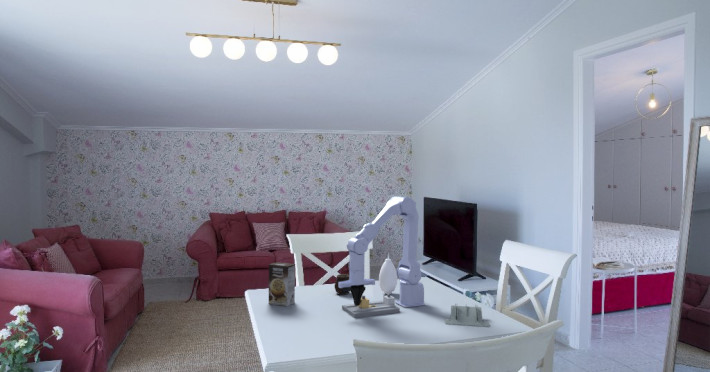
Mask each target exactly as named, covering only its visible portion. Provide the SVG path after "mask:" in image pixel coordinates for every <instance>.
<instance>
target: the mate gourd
mask: <svg viewBox="0 0 710 372" xmlns="http://www.w3.org/2000/svg"><path fill="white" fill-rule="evenodd" d="M348 280H350V274H349V272H346V274H344V273H342V274H341V273H340V274H337V275H336V281H335V283H334V289H335V292H336V294H338V295H348V294H349V293H351V292H350V289H349V287H343V288H339V287H338V282H343V281H348Z"/></svg>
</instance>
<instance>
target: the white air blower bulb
mask: <svg viewBox="0 0 710 372" xmlns="http://www.w3.org/2000/svg"><path fill="white" fill-rule="evenodd" d="M396 271H397V268H396V267H395V264H394V263H393V261H392V259H391V258H390V253H389V252H388V253H387V258H385V260H384V262H383V263H382V265H381V268H380V271H379V275H378V282H379V285H378V286H379V287H380V290H381V291H382V292H383V293H384V294H385V295H387V294H392V293H393V292H395V290H396V288H397V286H398V285H397V284H398V277H397V274H396Z"/></svg>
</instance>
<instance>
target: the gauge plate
mask: <svg viewBox="0 0 710 372" xmlns="http://www.w3.org/2000/svg"><path fill="white" fill-rule="evenodd" d="M391 294H392V293H390V294H386V295H383V296H382V297H383V299H382V300H376V301H369V308H361V307H359V306H356V305H354V303H351V304H349V303H348V304H344V305H341V310H343V312H345V313H347V314H348V315H350V317H352V318H353V319H358V318H364V317H365V318H366V317H372V316H381V315H387V314H394V313H395V314H396V313H400V312H401V311H400V307H398V306H397V305H396V298H395V297H394V296H392V295H391Z"/></svg>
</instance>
